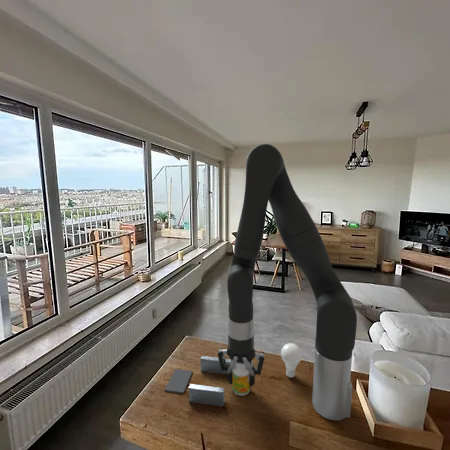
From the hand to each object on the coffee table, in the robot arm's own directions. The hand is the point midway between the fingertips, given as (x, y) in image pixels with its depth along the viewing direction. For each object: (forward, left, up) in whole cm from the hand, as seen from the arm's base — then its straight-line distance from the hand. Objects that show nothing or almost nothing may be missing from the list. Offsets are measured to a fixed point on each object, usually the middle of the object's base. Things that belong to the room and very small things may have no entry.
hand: (241, 383), depth 80 cm
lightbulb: (-15, -8, -2) cm, 17 cm away
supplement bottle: (0, 0, -2) cm, 2 cm away
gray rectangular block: (+20, 0, -2) cm, 20 cm away
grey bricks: (+9, 0, -2) cm, 9 cm away
